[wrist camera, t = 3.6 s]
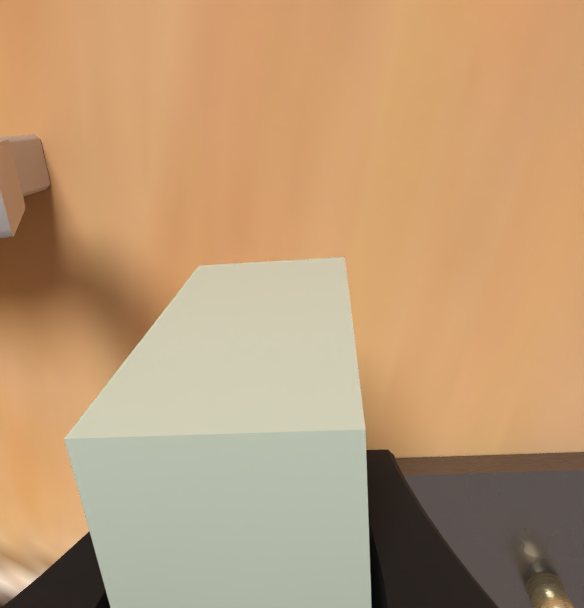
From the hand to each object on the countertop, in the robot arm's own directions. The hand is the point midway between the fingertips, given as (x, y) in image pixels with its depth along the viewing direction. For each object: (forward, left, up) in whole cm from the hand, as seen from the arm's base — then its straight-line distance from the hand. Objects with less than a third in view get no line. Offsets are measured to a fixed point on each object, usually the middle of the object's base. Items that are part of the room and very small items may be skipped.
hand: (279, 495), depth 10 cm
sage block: (0, 0, -2) cm, 2 cm away
